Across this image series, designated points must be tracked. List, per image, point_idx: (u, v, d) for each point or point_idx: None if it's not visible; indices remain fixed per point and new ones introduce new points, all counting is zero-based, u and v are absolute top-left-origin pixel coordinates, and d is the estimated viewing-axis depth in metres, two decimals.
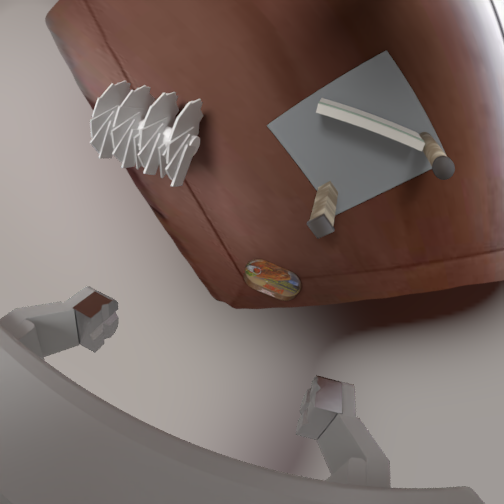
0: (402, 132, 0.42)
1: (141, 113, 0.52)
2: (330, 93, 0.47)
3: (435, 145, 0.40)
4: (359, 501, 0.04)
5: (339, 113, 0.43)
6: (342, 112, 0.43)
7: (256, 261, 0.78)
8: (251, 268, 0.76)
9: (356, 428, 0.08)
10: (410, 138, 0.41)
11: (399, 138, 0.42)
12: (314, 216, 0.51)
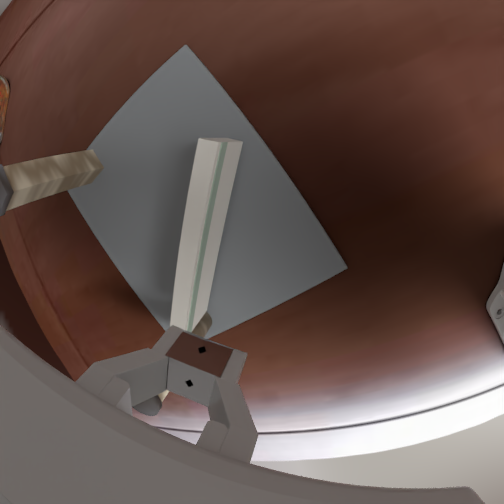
0: (190, 306, 0.27)
1: None
2: (253, 158, 0.27)
3: None
4: (359, 501, 0.04)
5: (201, 189, 0.22)
6: (204, 195, 0.22)
7: (5, 85, 0.30)
8: None
9: (230, 394, 0.08)
10: (183, 322, 0.27)
11: (177, 303, 0.26)
12: (13, 172, 0.20)
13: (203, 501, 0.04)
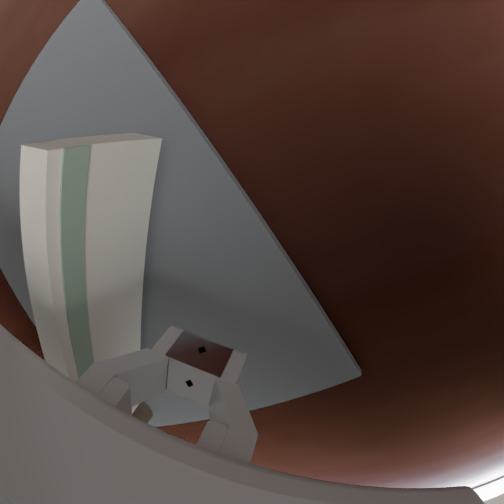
0: None
1: None
2: (184, 171, 0.13)
3: None
4: (359, 501, 0.04)
5: (39, 262, 0.08)
6: (46, 276, 0.08)
7: None
8: None
9: (230, 394, 0.08)
10: None
11: None
12: None
13: (203, 501, 0.04)
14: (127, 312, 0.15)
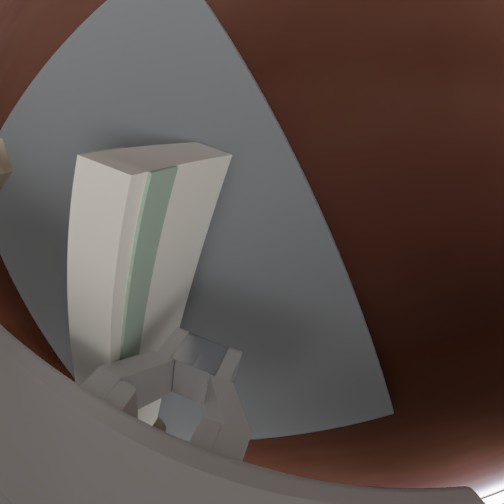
0: None
1: None
2: (273, 207, 0.12)
3: None
4: (359, 501, 0.04)
5: (95, 311, 0.07)
6: (104, 328, 0.07)
7: None
8: None
9: (224, 391, 0.08)
10: None
11: None
12: None
13: (203, 501, 0.04)
14: None
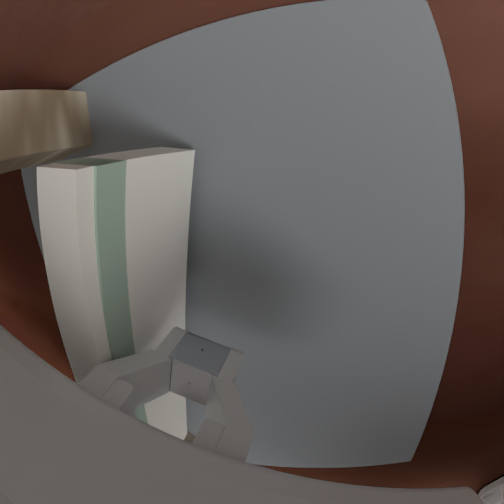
0: None
1: None
2: (425, 317, 0.12)
3: None
4: (359, 501, 0.04)
5: (75, 309, 0.07)
6: (86, 324, 0.07)
7: None
8: None
9: (227, 392, 0.08)
10: None
11: None
12: None
13: (203, 501, 0.04)
14: None
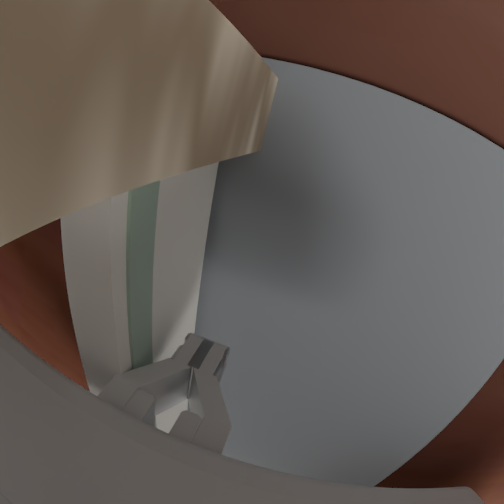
0: None
1: None
2: (445, 407, 0.14)
3: None
4: (359, 501, 0.04)
5: (99, 326, 0.07)
6: (111, 342, 0.07)
7: None
8: None
9: (207, 385, 0.08)
10: None
11: None
12: None
13: (203, 501, 0.04)
14: None
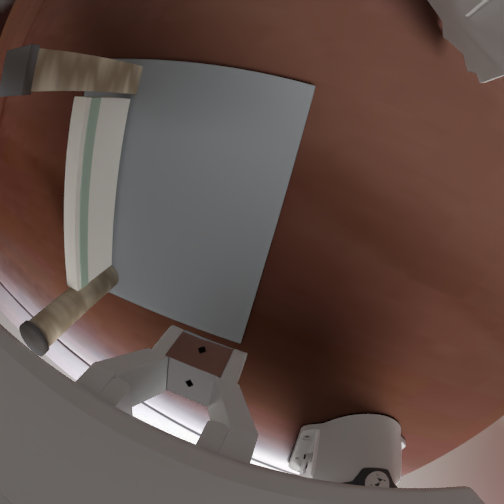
0: (79, 253, 0.26)
1: None
2: (255, 231, 0.28)
3: (78, 318, 0.27)
4: (359, 501, 0.04)
5: (76, 140, 0.20)
6: (78, 145, 0.21)
7: None
8: None
9: (230, 394, 0.08)
10: (74, 268, 0.26)
11: (68, 250, 0.25)
12: (46, 62, 0.13)
13: (203, 501, 0.04)
14: (108, 184, 0.27)
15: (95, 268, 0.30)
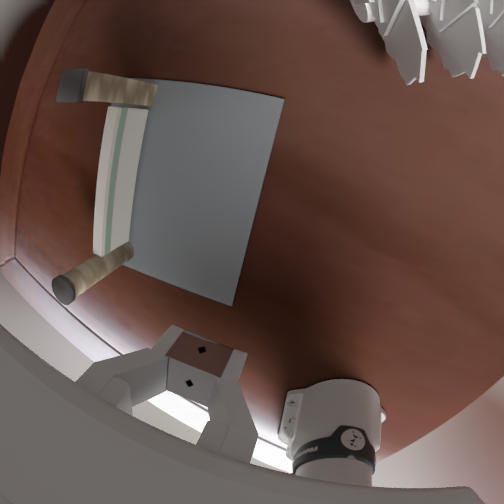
0: (105, 225, 0.35)
1: (483, 24, 0.15)
2: (241, 209, 0.37)
3: (100, 279, 0.36)
4: (359, 501, 0.04)
5: (109, 138, 0.30)
6: (110, 142, 0.30)
7: None
8: None
9: (230, 394, 0.08)
10: (100, 237, 0.35)
11: (97, 222, 0.34)
12: (92, 81, 0.22)
13: (203, 501, 0.04)
14: (130, 174, 0.36)
15: (116, 240, 0.38)
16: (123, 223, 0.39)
